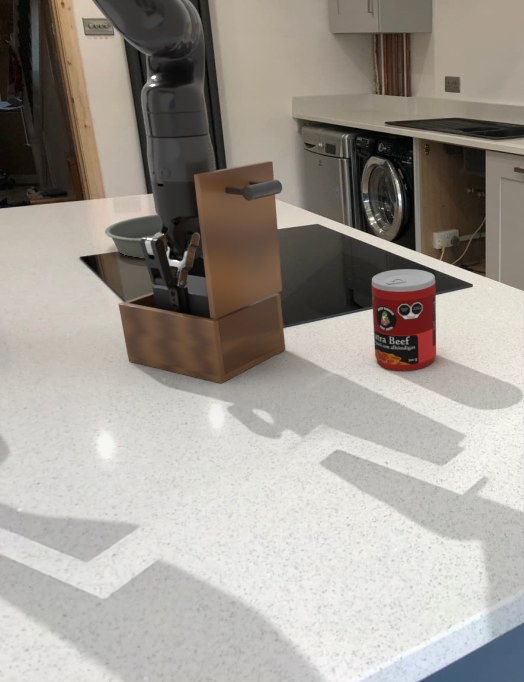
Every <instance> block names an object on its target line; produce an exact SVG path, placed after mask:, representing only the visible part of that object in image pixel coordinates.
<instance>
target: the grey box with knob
mask: <svg viewBox="0 0 524 682" xmlns="http://www.w3.org/2000/svg"><path fill="white" fill-rule="evenodd" d="M185 287H188V296H189V303H190V310H191V314H190V315H193V316H198V317H204V318H209V319H214V318H211V317H210V310H209V301H208V292H207V284H206V278H204V277H198V276H192V275H188V276H187V280H186V285H185ZM151 288H152V292H153V294H154V300H155V306H156V308H157V309H162V310H167V311H172V309H171V305H170V298H169V292H168V288H167V287H166V286H161V285H154V286H152V287H151ZM172 312H173V311H172Z"/></svg>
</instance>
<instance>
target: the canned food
mask: <svg viewBox="0 0 524 682" xmlns="http://www.w3.org/2000/svg"><path fill="white" fill-rule="evenodd" d="M436 291H437V289H436V277H435V275H434V274H433V273H432V272H429V271H426V270H421V269H414V268H413V269H412V268H404V269H403V268H402V269H401V268H400V269H391V270H386V271H382V272H379V273H377V274H375V275H374V276H373V277H371V302H372V304H371V306H372V322H373V342H374V356H375V359H376V362H377V364H378V365H379V366H381V367H382V368H385V369H388V370H392V371H402V372H403V371H414V370H418V369H423V368H426V367H427V366H429V365H431V364H432V363H433V362H434V361H435V358H436V356H437V355H436V354H437V299H436V297H437V294H436V293H437V292H436Z"/></svg>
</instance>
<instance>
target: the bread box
mask: <svg viewBox="0 0 524 682" xmlns="http://www.w3.org/2000/svg"><path fill="white" fill-rule="evenodd" d="M281 299H282V298H281V293H276V294H273V295H271V296H268V297H266V298H264V299H261V300H259V301H256V302H254V303H252V304H249V305H247V306H245V307H242V308H240V309H237V310H235V311H233V312H230V313H228V314H225V315H223V316H221V317H218V318H216V319H209V318H204V317H198V316H193V315H188V314H183V313H177V312H172V311H167V310H162V309H157V308H156V306H155V300H154V294H153V291H152V292H148V293H146V294H143V295H140V296H137V297H134V298H131V299H128V300H126V301H123V302H120V303H118V309H119V315H120V320H121V326H122V332H123V336H124V342H125V349H126V353H127V360H128V361H129V362H130V363H134V364H139V365H142V366H147V367H150V368H154V369H160V370H163V371H168V372H172V373H176V374H179V375H184V376H189V377H193V378H197V379H201V380H206V381H208V382H209V381H210V382H214V383H218V384H223V383H225V382H227V381H229V380H231V379H233V378H234V377H236V376H238V375H240V374H242V373H244V372H245V371H247V370H250V369H252V368H253V367H255V366H257V365H259V364H261V363H263V362H265V361H266V360H268V359H270V358H273V357H274V356H276V355H278V354H280V353H282V352H284V351H285V350H286V342H285V341H286V340H285V330H284V319H283V310H282V300H281Z"/></svg>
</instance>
